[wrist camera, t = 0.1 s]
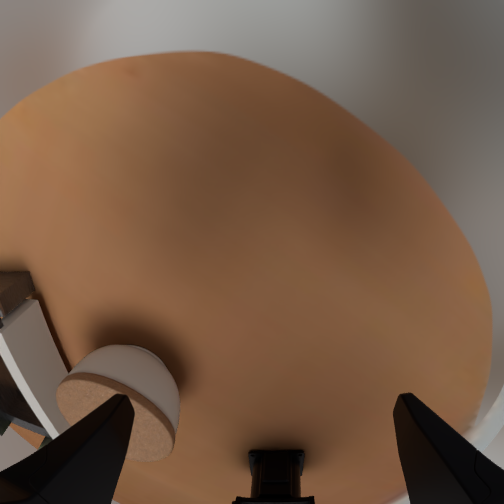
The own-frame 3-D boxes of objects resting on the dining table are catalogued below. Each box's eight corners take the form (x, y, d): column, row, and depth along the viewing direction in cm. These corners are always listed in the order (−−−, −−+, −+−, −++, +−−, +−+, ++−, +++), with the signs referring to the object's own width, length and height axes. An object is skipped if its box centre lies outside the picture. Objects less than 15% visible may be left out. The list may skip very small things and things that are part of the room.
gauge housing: (93, 419, 33) (70, 465, 25) (18, 397, 34) (-7, 431, 26) (29, 271, 25) (-24, 311, 18) (-40, 270, 26) (-81, 299, 19)
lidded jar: (198, 410, 30) (179, 485, 21) (108, 396, 30) (75, 458, 22) (184, 328, 26) (150, 412, 17) (79, 318, 26) (26, 381, 18)
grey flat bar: (89, 414, 31) (70, 449, 25) (77, 411, 31) (57, 445, 25) (31, 280, 24) (-8, 311, 19) (18, 279, 24) (-20, 309, 19)
